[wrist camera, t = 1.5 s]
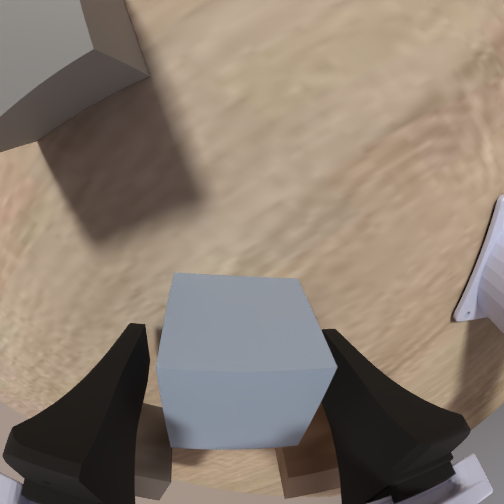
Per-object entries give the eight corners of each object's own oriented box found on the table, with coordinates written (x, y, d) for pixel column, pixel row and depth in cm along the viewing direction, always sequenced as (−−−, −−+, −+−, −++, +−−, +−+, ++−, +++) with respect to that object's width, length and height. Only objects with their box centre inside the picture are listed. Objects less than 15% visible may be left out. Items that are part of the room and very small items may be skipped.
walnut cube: (350, 393, 17) (376, 456, 12) (338, 429, 19) (356, 482, 15) (274, 407, 16) (288, 477, 12) (273, 441, 19) (284, 498, 14)
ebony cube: (174, 409, 16) (171, 481, 11) (162, 441, 18) (159, 500, 13) (94, 387, 14) (76, 458, 10) (95, 424, 16) (84, 482, 12)
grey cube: (115, -27, 6) (62, -88, 1) (150, 76, 8) (94, 49, 4) (10, 42, 6) (-73, 32, 2) (38, 140, 8) (-52, 172, 4)
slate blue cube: (297, 277, 12) (337, 367, 8) (277, 360, 14) (297, 445, 10) (174, 271, 11) (155, 367, 7) (177, 358, 14) (171, 447, 9)
